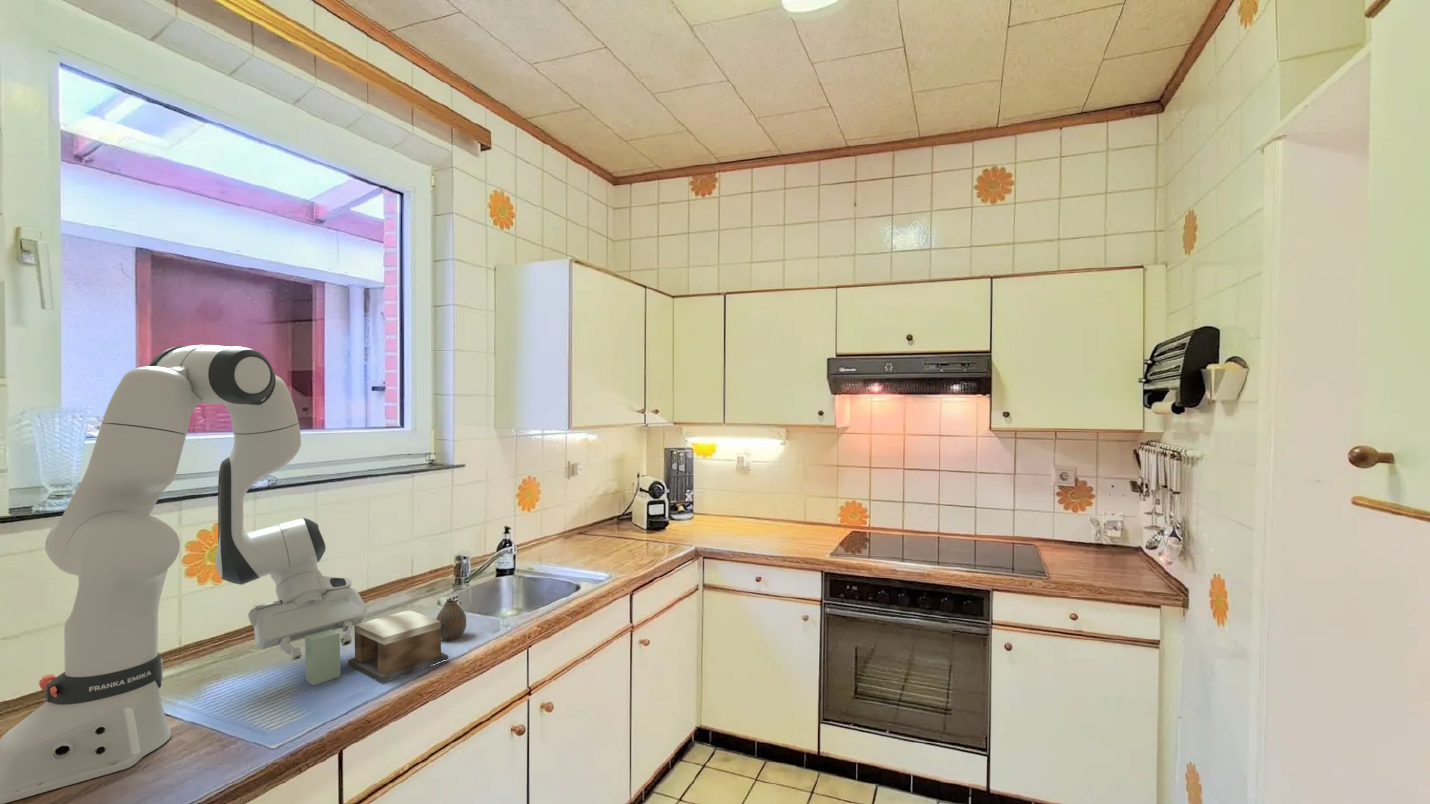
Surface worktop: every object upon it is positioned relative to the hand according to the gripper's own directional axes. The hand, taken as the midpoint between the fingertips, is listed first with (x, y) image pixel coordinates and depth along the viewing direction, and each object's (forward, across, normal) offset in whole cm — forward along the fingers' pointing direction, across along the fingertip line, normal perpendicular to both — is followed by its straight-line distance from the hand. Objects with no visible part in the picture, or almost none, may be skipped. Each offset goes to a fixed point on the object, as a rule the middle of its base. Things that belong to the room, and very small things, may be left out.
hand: (322, 650), depth 130 cm
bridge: (+8, +13, 0) cm, 15 cm away
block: (+4, 0, +4) cm, 6 cm away
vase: (+4, +28, +4) cm, 29 cm away
